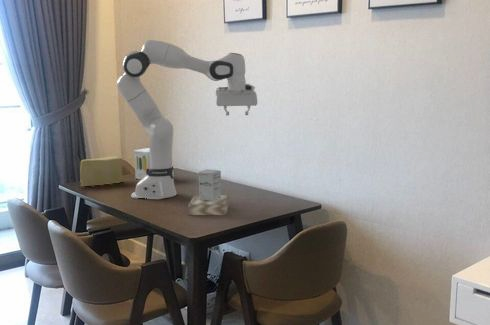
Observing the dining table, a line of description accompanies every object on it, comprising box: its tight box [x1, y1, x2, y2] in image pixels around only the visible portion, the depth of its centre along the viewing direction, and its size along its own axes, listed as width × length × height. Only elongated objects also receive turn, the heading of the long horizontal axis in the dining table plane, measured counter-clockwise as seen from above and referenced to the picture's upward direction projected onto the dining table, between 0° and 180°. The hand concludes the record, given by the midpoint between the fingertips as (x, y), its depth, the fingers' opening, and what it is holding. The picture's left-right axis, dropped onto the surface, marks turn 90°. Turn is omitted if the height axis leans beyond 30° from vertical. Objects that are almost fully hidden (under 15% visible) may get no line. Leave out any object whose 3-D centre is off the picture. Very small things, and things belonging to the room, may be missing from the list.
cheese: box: [79, 155, 124, 187], centre depth 281 cm, size 22×10×15 cm, turn 125°
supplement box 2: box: [198, 168, 222, 201], centre depth 223 cm, size 7×7×13 cm
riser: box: [187, 194, 230, 216], centre depth 224 cm, size 16×16×5 cm
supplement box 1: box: [133, 147, 150, 179], centre depth 293 cm, size 13×13×18 cm
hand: (237, 115), depth 251 cm, fingers open, 8 cm apart
